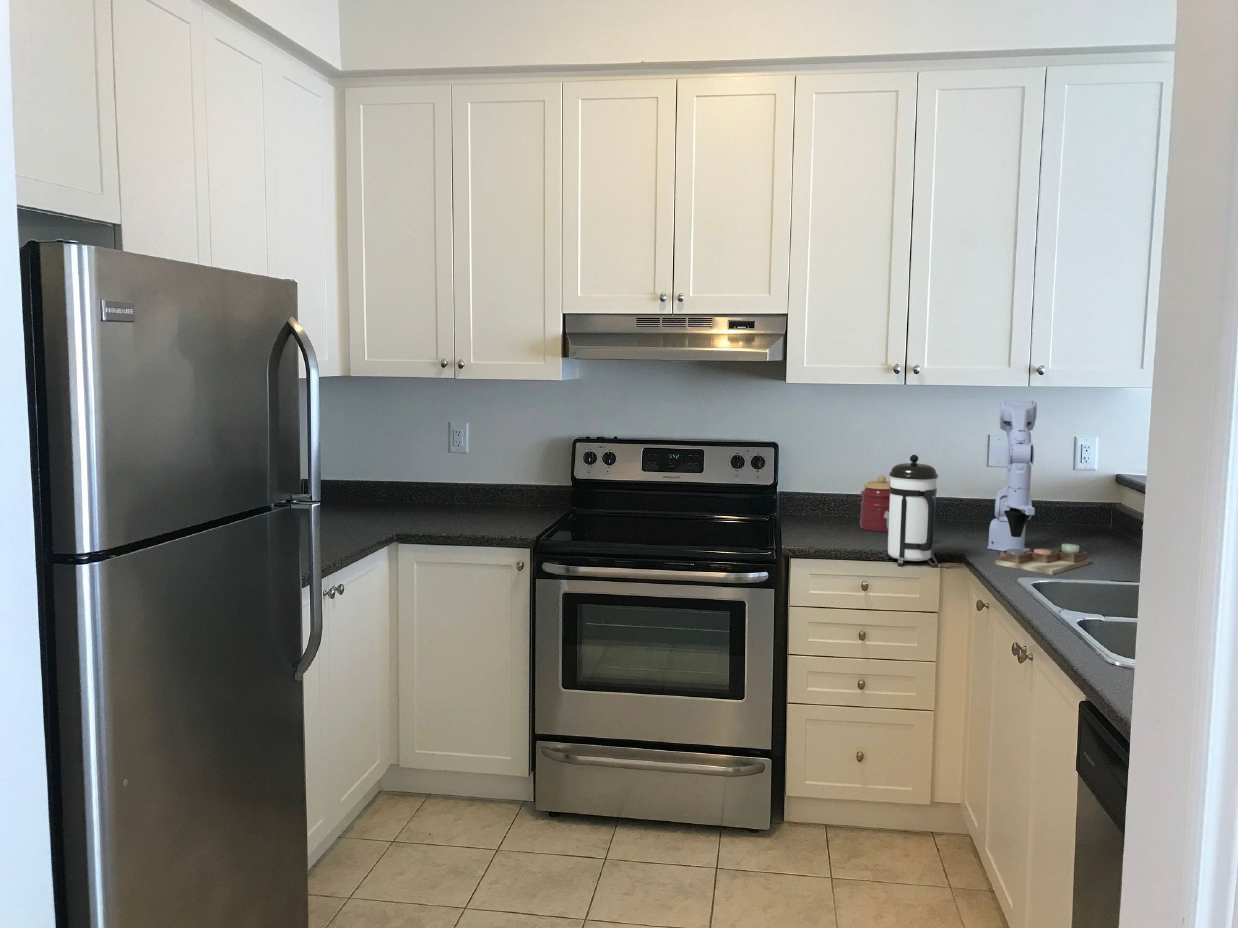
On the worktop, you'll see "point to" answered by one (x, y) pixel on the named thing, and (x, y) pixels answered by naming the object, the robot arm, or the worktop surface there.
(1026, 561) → the button panel
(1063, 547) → the sage button
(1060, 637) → the worktop surface
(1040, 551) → the terracotta button
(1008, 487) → the robot arm
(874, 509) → the canister
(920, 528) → the coffee press
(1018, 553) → the charcoal button
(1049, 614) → the worktop surface
